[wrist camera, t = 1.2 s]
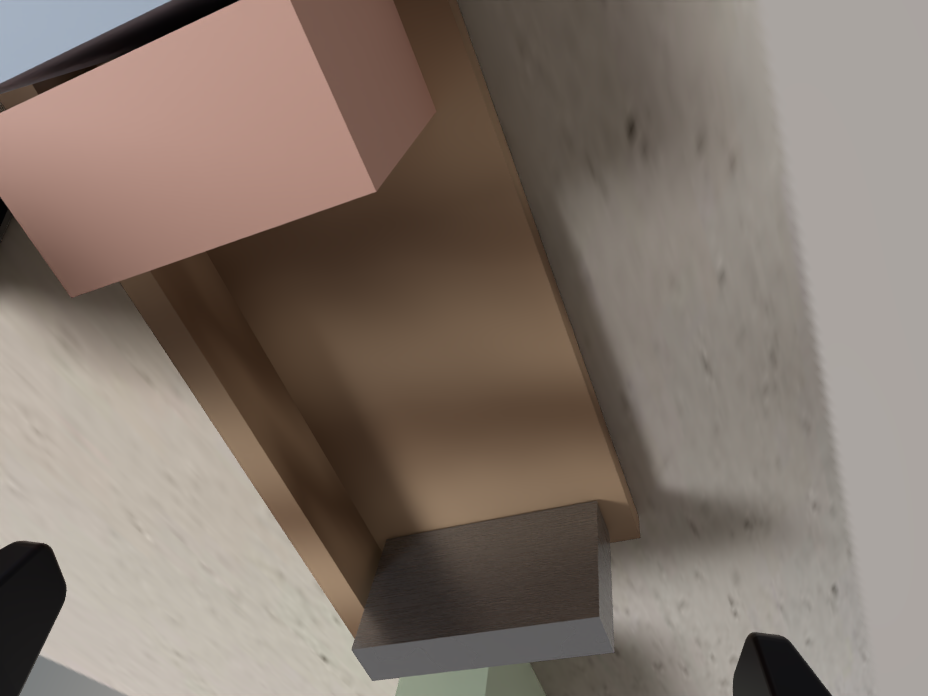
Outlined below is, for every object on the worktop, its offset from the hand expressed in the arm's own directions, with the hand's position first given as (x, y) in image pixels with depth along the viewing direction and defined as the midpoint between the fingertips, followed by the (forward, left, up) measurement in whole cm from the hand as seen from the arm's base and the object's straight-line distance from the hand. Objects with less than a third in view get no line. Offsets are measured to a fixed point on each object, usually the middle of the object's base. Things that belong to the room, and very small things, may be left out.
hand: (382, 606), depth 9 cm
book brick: (0, +6, -12) cm, 14 cm away
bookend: (-8, -7, -12) cm, 16 cm away
